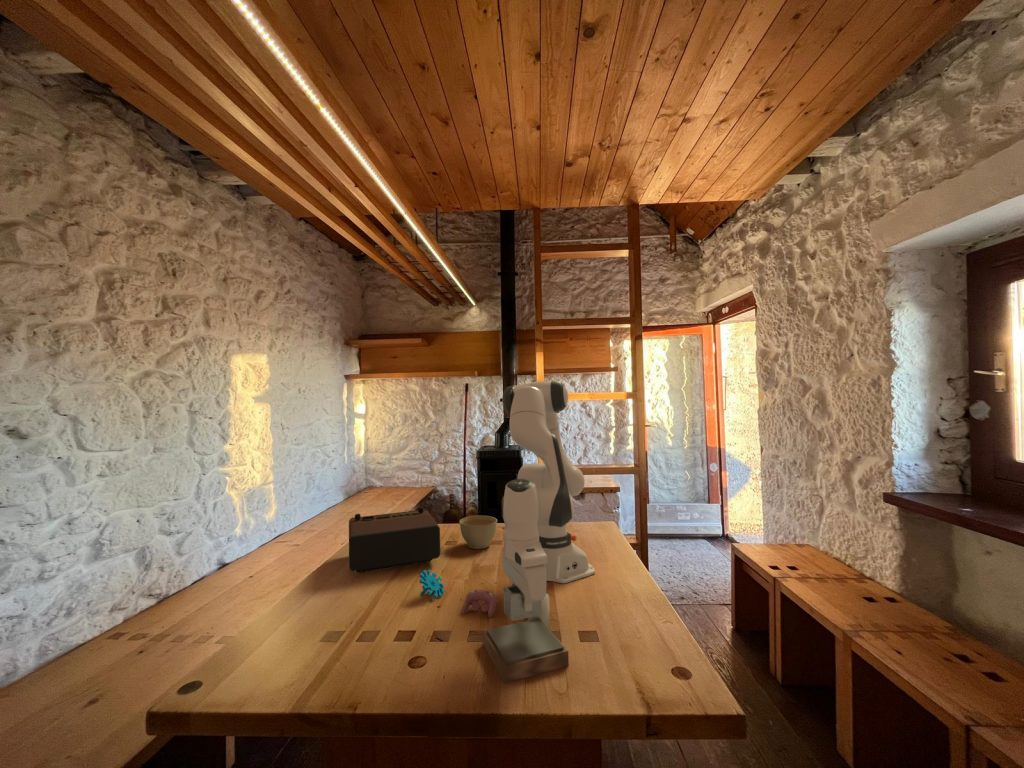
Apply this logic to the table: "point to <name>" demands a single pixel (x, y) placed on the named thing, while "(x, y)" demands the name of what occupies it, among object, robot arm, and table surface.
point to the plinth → (524, 649)
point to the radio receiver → (392, 540)
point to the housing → (518, 604)
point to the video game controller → (480, 595)
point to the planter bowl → (478, 530)
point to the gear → (431, 583)
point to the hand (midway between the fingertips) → (522, 604)
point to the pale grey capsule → (544, 612)
